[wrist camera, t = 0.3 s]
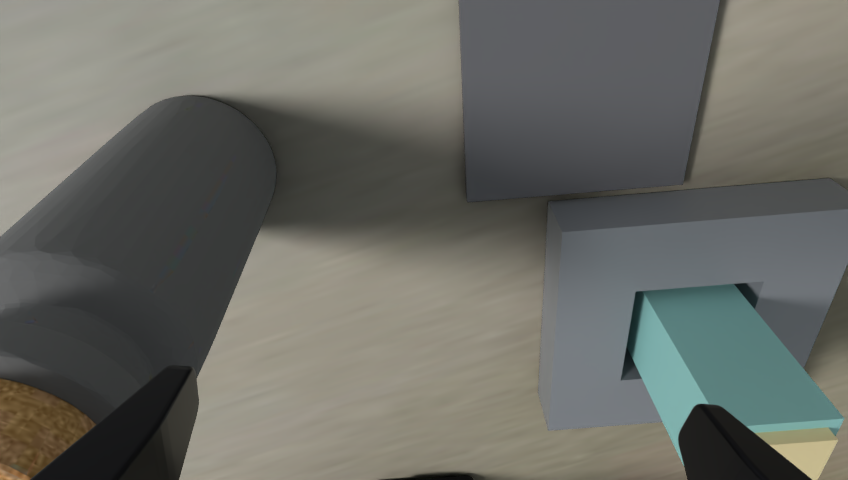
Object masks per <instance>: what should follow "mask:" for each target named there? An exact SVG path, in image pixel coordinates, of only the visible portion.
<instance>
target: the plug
mask: <svg viewBox="0 0 848 480" xmlns="http://www.w3.org/2000/svg"><path fill="white" fill-rule="evenodd" d="M627 349H628V351H629V353H630V355H631V357H632V359H633V361H634V363H635V365H636V367H637V369H638V371H639V374H640V376H641V378H642V380H643V382H644V384H645V386H646V388H647V390H648V392H649V394H650V396H651V399H652V401H653V403H654V405H655V407H656V409H657V411H658V413H659V415H660V417H661V419H662V421H663V424H664V426H665V428H666V430H667V432H668V434H669V436H670V438H671V440H672V442H673V444H674V446H675V449H676V451H677V453H678V455H679V457H680V459H681V461H682V463H683V460H682V456H681V452H680V448H679V444H678V436H679V432H680V430H681V428H682V426H683V424H684V423H685V421H686V419H687V417H688V416H689V414H690V412H691V410H692V409H693V407H694V406H695V405H697V404H713V405H719V406H721V407H723V408H724V409H725V410H727V411H728V412H729V413H730V414H732V415H733V416H734V417H735V418H737V419H738V420H739V421H740V422H742V423H743V424H744V425H745V426H747V427H748V428H749V429H750V430H752V431H753V432H754V433H755V434H756V435H758V436H759V437H760V438H761V439H763V440H764V441H765V442H766V443H768V444H769V445H770V446H771V447H773V448H774V449H775V450H776V451H778V452H779V453H780V454H781V455H783V456H784V457H785V458H786V459H787V460H789V461H790V462H791V463H792V464H794V465H795V466H796V467H797V468H799V469H800V470H801V471H802V472H804V473H805V474H806V475H807V476H809V477H810V478H811V479H812V480H818V478H819V476H820V474H821V472H822V470H823V468H824V466H825V464H826V462H827V460H828V458H829V457H830V455H831V453H832V451H833V449H834V447H835V445H836V443H837V441H838V439H837V438H836V437H835V436H836V434H837V432H838V430H839V428H840V426H841V424H842V422H843V420H844V418H843V416H842V415H841V414H840V413H839V411H838V410H837V409H836V408H835V407H834V405H833V404H832V403H831V402H830V401H829V399H828V398H827V397H826V396H825V394H824V393H823V392H822V391H821V390H820V388H819V387H818V386H817V385H816V383H815V382H814V381H813V380H812V379H811V377H810V376H809V375H808V374H807V373H806V371H805V370H804V369H803V368H802V366H801V365H800V364H799V363H798V362H797V360H796V359H795V358H794V357H793V355H792V354H791V353H790V352H789V351H788V349H787V348H786V347H785V346H784V344H783V343H782V342H781V341H780V340H779V338H778V337H777V336H776V335H775V334H774V332H773V331H772V330H771V329H770V327H769V326H768V325H767V324H766V323H765V321H764V320H763V319H762V318H761V316H760V315H759V314H758V313H757V312H756V310H755V309H754V308H753V307H752V306H751V304H750V303H749V302H748V301H747V299H746V298H745V297H744V296H743V295H742V293H741V292H740V291H739V290H738V288H737V287H736V286H735V285H734V284H725V285H713V286H700V287H687V288H675V289H662V290H650V291H637V292H636V293H635V298H634V304H633V310H632V316H631V322H630V328H629V334H628V340H627ZM683 465H684V463H683Z"/></svg>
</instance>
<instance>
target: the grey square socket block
mask: <svg viewBox="0 0 848 480" xmlns="http://www.w3.org/2000/svg"><path fill="white" fill-rule="evenodd" d="M847 264H848V190H846V189H845V188H844V187H842V186H841V185H839V184H838V183H836V182H835V181H833V180H832V179H831V178H824V179H812V180H800V181H788V182H776V183H764V184H751V185H739V186H727V187H715V188H703V189H691V190H679V191H666V192H654V193H642V194H630V195H618V196H606V197H593V198H581V199H569V200H557V201H548V215H547V234H546V253H545V272H544V290H543V309H542V328H541V347H540V366H539V385H538V394H539V398H540V402H541V406H542V409H543V413H544V417H545V421H546V424H547V428H548V431H550V430H563V429H576V428H589V427H603V426H616V425H629V424H642V423H655V422H663V421H662V419H661V417H660V415H659V413H658V411H657V409H656V407H655V405H654V403H653V401H652V399H651V396H650V394H649V392H648V390H647V388H646V386H645V384H644V382H643V380H642V378H641V376H640V374H639V371H638V369H637V367H636V365H635V363H634V361H633V359H632V357H631V355H630V353H629V351H628V349H627V340H628V334H629V328H630V322H631V316H632V310H633V304H634V298H635V293H636V292H637V291H650V290H662V289H675V288H687V287H700V286H713V285H725V284H734V285H735V286H736V287H737V288H738V290H739V291H740V292H741V293H742V295H743V296H744V297H745V298H746V299H747V301H748V302H749V303H750V304H751V306H752V307H753V308H754V309H755V310H756V312H757V313H758V314H759V315H760V316H761V318H762V319H763V320H764V321H765V323H766V324H767V325H768V326H769V327H770V329H771V330H772V331H773V332H774V334H775V335H776V336H777V337H778V338H779V340H780V341H781V342H782V343H783V344H784V346H785V347H786V348H787V349H788V351H789V352H790V353H791V354H792V355H793V357H794V358H795V359H796V360H797V362H798V363H799V364H800V365H801V366H802V368H803V369H804V367H805V364H806V362H807V359H808V357H809V355H810V352H811V350H812V348H813V345H814V343H815V340H816V338H817V336H818V333H819V331H820V329H821V326H822V324H823V321H824V319H825V317H826V314H827V312H828V310H829V307H830V305H831V302H832V300H833V298H834V295H835V293H836V291H837V288H838V286H839V283H840V281H841V279H842V276H843V274H844V272H845V269H846V267H847Z"/></svg>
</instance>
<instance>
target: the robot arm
mask: <svg viewBox="0 0 848 480" xmlns="http://www.w3.org/2000/svg"><path fill="white" fill-rule="evenodd" d="M198 405H199V397H198V388H197V379H196V372H195V370H194V368H193V367H191V366H180V365H170V366H167V367H165V368H164V369H163V370H162V371H160V372H159V373H158V374H157V375H156V376H154V377H153V378H152V379H151V380H150V381H148V382H147V383H146V384H145V385H144V386H142V387H141V388H140V389H139V390H137V391H136V392H135V393H134V394H133V395H131V396H130V397H129V398H128V399H127V400H125V401H124V402H123V403H122V404H121V405H119V406H118V407H117V408H116V409H115V410H113V411H112V412H111V413H110V414H108V415H107V416H106V417H105V418H104V419H102V420H101V421H100V422H99V423H98V424H96V425H95V426H94V427H93V428H92V429H90V430H89V431H88V432H87V433H85V434H84V435H83V436H82V437H81V438H79V439H78V440H77V441H76V442H75V443H73V444H72V445H71V446H70V447H69V448H67V449H66V450H65V451H64V452H63V453H61V454H60V455H59V456H58V457H56V458H55V459H54V460H53V461H52V462H50V463H49V464H48V465H47V466H46V467H44V468H43V469H42V470H41V471H40V472H38V473H37V474H36V475H35V476H33V477H32V478H31V479H30V480H179V477H180V474H181V470H182V467H183V463H184V459H185V456H186V452H187V448H188V445H189V441H190V438H191V434H192V430H193V427H194V423H195V420H196V416H197V412H198ZM678 444H679V448H680V452H681V456H682V460H683V463H684V467H685V471H686V475H687V479H688V480H812V479H811V478H810V477H809V476H807V475H806V474H805V473H804V472H802V471H801V470H800V469H799V468H797V467H796V466H795V465H794V464H792V463H791V462H790V461H789V460H787V459H786V458H785V457H784V456H783V455H781V454H780V453H779V452H778V451H776V450H775V449H774V448H773V447H771V446H770V445H769V444H768V443H766V442H765V441H764V440H763V439H761V438H760V437H759V436H758V435H756V434H755V433H754V432H753V431H752V430H750V429H749V428H748V427H747V426H745V425H744V424H743V423H742V422H740V421H739V420H738V419H737V418H735V417H734V416H733V415H732V414H730V413H729V412H728V411H727V410H725V409H724V408H723V407H721V406H719V405H713V404H697V405H695V406H694V407H693V409H692V410H691V412H690V414H689V416H688V417H687V419H686V421H685V423H684V424H683V426H682V428H681V430H680V432H679V436H678ZM418 480H473V478H472V477H470V476H458V477H444V478H431V479H418Z"/></svg>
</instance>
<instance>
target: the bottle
mask: <svg viewBox="0 0 848 480" xmlns="http://www.w3.org/2000/svg"><path fill="white" fill-rule="evenodd" d="M275 185H276V163H275V159H274V156H273V152H272V149H271V147H270V145H269V143H268V141H267V140H266V138H265V137H264V135H263V134H262V133H261V131H260V130H259V129H258V127H257V126H256V125H255V124H254V123H253V122H252V121H251V120H250V119H248V118H247V117H246V116H244V115H243V114H242V113H240V112H239V111H238V110H236V109H234V108H232V107H230V106H229V105H226V104H224V103H221V102H219V101H216V100H213V99H209V98H206V97H199V96H179V97H173V98H169V99H165V100H162V101H160V102H158V103H156V104H154V105H152V106H150V107H149V108H148V109H146V110H145V111H144V112H143V113H141V114H140V115H139V116H137V117H136V118H135V119H134V120H133V121H131V122H130V123H129V124H128V125H127V126H126V127H124V128H123V129H122V130H121V131H120V132H119V133H117V134H116V135H115V136H114V137H113V138H112V139H110V140H109V141H108V142H107V143H106V144H105V145H103V146H102V147H101V148H100V149H99V150H98V151H97V152H96V153H94V154H93V155H92V156H91V157H90V158H89V159H88V160H87V161H85V162H84V163H83V164H82V165H81V166H80V167H79V168H77V169H76V170H75V171H74V172H73V173H72V174H71V175H70V176H68V177H67V178H66V179H65V180H64V181H63V182H62V183H61V184H59V185H58V186H57V187H56V188H55V189H54V190H53V191H51V192H50V193H49V194H48V195H47V196H46V197H45V198H44V199H42V200H41V201H40V202H39V203H38V204H37V205H36V206H35V207H33V208H32V209H31V210H30V211H29V212H28V213H27V214H25V215H24V216H23V217H22V218H21V219H20V220H19V221H18V222H16V223H15V224H14V225H13V226H12V227H11V228H10V229H9V230H7V231H6V232H5V233H4V234H3V235H2V236H1V237H0V480H30V479H31V478H32V477H33V476H35V475H36V474H37V473H38V472H40V471H41V470H42V469H43V468H44V467H46V466H47V465H48V464H49V463H50V462H52V461H53V460H54V459H55V458H56V457H58V456H59V455H60V454H61V453H63V452H64V451H65V450H66V449H67V448H69V447H70V446H71V445H72V444H73V443H75V442H76V441H77V440H78V439H79V438H81V437H82V436H83V435H84V434H85V433H87V432H88V431H89V430H90V429H92V428H93V427H94V426H95V425H96V424H98V423H99V422H100V421H101V420H102V419H104V418H105V417H106V416H107V415H108V414H110V413H111V412H112V411H113V410H115V409H116V408H117V407H118V406H119V405H121V404H122V403H123V402H124V401H125V400H127V399H128V398H129V397H130V396H131V395H133V394H134V393H135V392H136V391H137V390H139V389H140V388H141V387H142V386H144V385H145V384H146V383H147V382H148V381H150V380H151V379H152V378H153V377H154V376H156V375H157V374H158V373H159V372H160V371H162V370H163V369H164V368H165V367H167V366H170V365H180V366H191V367H193V368H194V370H195V372H196V379H197V376H198V374H199V372H200V370H201V368H202V366H203V363H204V361H205V359H206V357H207V355H208V352H209V350H210V348H211V346H212V344H213V341H214V339H215V336H216V334H217V332H218V329H219V327H220V324H221V322H222V319H223V317H224V315H225V312H226V310H227V307H228V305H229V302H230V300H231V298H232V295H233V293H234V290H235V288H236V286H237V283H238V281H239V278H240V276H241V273H242V271H243V269H244V266H245V264H246V261H247V259H248V256H249V254H250V252H251V249H252V247H253V244H254V242H255V239H256V237H257V235H258V232H259V230H260V227H261V225H262V222H263V220H264V217H265V214H266V212H267V209H268V207H269V204H270V201H271V199H272V196H273V194H274V189H275Z"/></svg>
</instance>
